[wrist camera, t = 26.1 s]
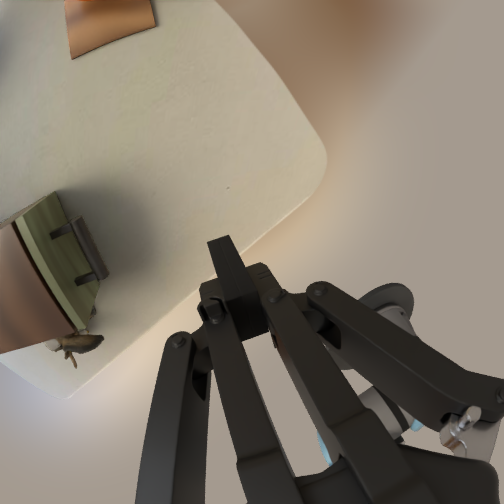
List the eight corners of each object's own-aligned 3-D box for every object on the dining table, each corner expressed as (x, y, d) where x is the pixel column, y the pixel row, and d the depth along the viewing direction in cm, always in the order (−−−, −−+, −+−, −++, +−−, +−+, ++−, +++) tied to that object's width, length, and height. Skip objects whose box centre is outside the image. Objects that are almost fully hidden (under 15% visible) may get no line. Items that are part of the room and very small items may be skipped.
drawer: (84, 176, 25) (56, 195, 18) (127, 274, 32) (119, 317, 25) (-24, 240, 22) (-54, 270, 15) (19, 315, 29) (1, 353, 22)
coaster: (155, 26, 20) (155, 25, 20) (72, 59, 19) (71, 59, 18) (143, -31, 15) (143, -32, 15) (65, 0, 14) (64, -1, 13)
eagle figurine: (92, 357, 35) (117, 336, 33) (62, 377, 28) (82, 357, 26) (66, 318, 35) (87, 290, 33) (35, 333, 28) (50, 305, 26)
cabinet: (45, 195, 25) (10, 222, 17) (90, 287, 31) (75, 332, 24) (-29, 244, 22) (-60, 275, 15) (13, 317, 29) (-6, 355, 21)
